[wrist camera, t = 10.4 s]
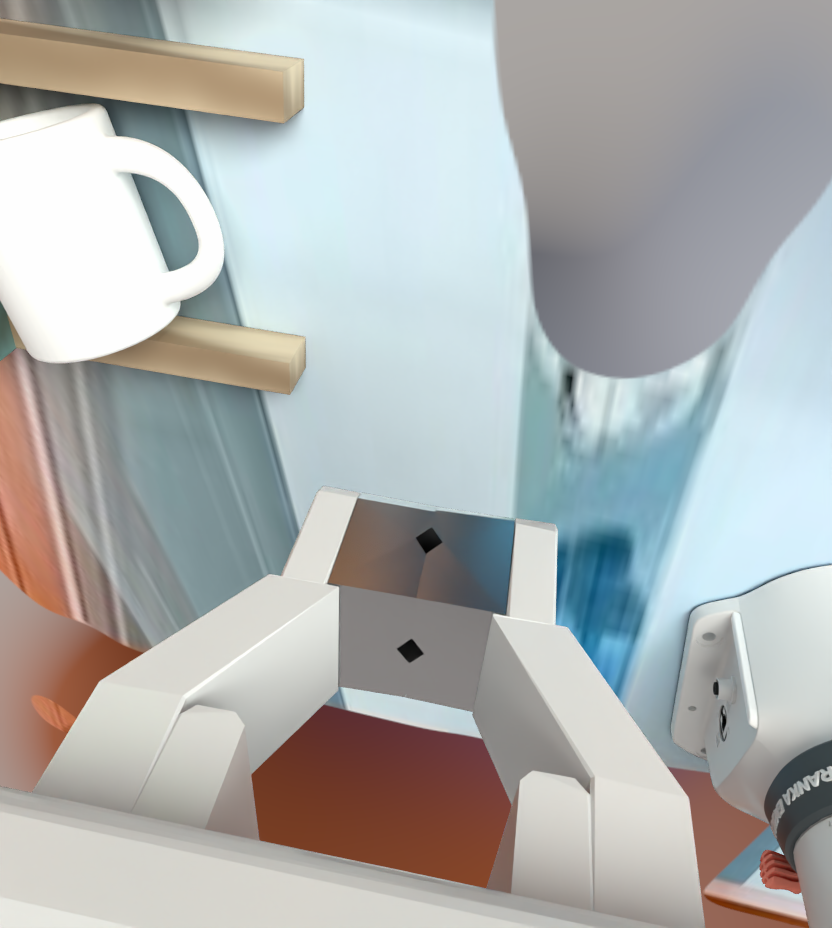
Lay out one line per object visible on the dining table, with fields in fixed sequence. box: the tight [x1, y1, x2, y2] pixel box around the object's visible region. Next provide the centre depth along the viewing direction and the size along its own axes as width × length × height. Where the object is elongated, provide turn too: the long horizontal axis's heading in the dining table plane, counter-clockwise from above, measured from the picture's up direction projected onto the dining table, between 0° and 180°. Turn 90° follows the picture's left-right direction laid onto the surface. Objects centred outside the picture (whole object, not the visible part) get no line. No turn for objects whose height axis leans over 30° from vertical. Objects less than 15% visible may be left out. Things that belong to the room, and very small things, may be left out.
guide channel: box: [0, 18, 306, 395], centre depth 37 cm, size 16×18×5 cm
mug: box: [0, 103, 224, 363], centre depth 35 cm, size 12×10×8 cm
